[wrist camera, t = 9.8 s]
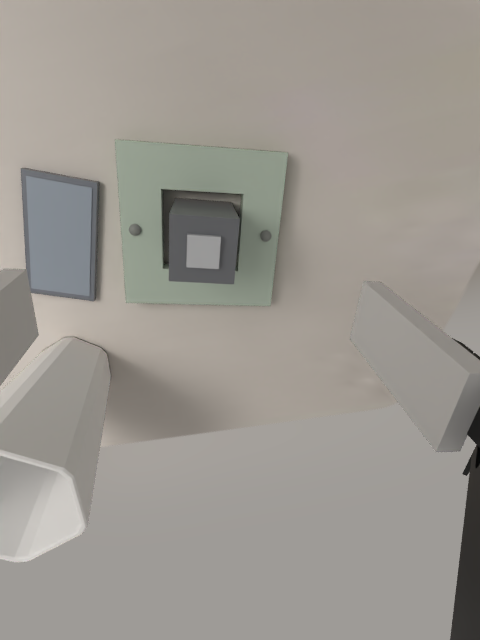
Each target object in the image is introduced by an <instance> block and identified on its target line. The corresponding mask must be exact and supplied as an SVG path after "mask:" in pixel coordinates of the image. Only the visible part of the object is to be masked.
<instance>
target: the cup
mask: <svg viewBox="0 0 480 640" xmlns="http://www.w3.org/2000/svg"><path fill="white" fill-rule="evenodd" d="M110 380H111V373H110V368H109V363H108V357H107V354H106V353H105V352H104V350H103V349H102V348H100V347H98V346H95V345H93V344H90V343H88V342H85V341H83V340H80V339H77V338H75V337H67V338H63V339H62V340H60V341H58V342H57V343H55V344H53V345H52V346H50V347H48V348H47V349H45V350H43V351H42V352H41V353H40V354H39V355H38V356H37V357H36V358H35V359H34V360H33V361H32V362H31V363H30V364H28V365H27V366H26V367H25V368H24V369H23V370H22V371H21V372H20V373H19V374H18V375H17V376H16V377H15V378H14V379H13V380H12V381H11V382H10V383H9V384H7V385H6V386H5V387H4V388H3V389H2V390H1V391H0V559H3V560H7V561H12V562H23V561H30V560H32V559H34V558H36V557H38V556H40V555H41V554H43V553H45V552H47V551H49V550H51V549H53V548H55V547H57V546H59V545H61V544H63V543H65V542H67V541H69V540H71V539H73V538H75V537H77V536H79V535H80V534H83V533H84V531H85V529H86V527H87V525H88V521H89V515H90V508H91V502H92V495H93V489H94V483H95V476H96V470H97V463H98V457H99V451H100V444H101V438H102V431H103V425H104V419H105V412H106V406H107V399H108V393H109V387H110Z"/></svg>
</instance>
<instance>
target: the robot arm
mask: <svg viewBox="0 0 480 640" xmlns="http://www.w3.org/2000/svg"><path fill="white" fill-rule="evenodd" d="M38 335H39V334H38V329H37V323H36V318H35V313H34V307H33V302H32V297H31V291H30V286H29V280H28V275H27V270H26V269H3V270H1V271H0V385H1V384H2V383H3V381H4V380H5V379H6V378H7V376H8V375H9V374H10V372H11V371H12V370H13V368H14V367H15V366H16V364H17V363H18V362H19V360H20V359H21V358H22V356H23V355H24V354H25V352H26V351H27V350H28V348H29V347H30V346H31V344H32V343H33V342H34V341H35V339H36V338H37V337H38ZM350 340H351V341H352V343H353V344H354V345H355V347H356V348H357V349H358V350H359V352H360V353H361V354H362V356H363V357H364V358H365V360H366V361H367V362H368V364H369V365H370V366H371V368H372V369H373V370H374V371H375V373H376V374H377V375H378V377H379V378H380V379H381V381H382V382H383V383H384V385H385V386H386V387H387V388H388V390H389V391H390V392H391V394H392V395H393V396H394V398H395V399H396V400H397V402H398V403H399V404H400V405H401V407H402V408H403V409H404V411H405V412H406V413H407V415H408V416H409V417H410V419H411V420H412V421H413V422H414V424H415V425H416V426H417V428H418V429H419V430H420V432H421V433H422V434H423V436H424V437H425V438H426V440H427V441H428V442H429V444H430V445H431V446H432V447H433V449H434V450H435V451H436V452H453V451H460V450H461V448H462V446H463V444H464V441H465V439H466V437H467V435H468V436H469V437H470V438H471V439H472V440H473V441H474V442H475V443H476V444H477V445H476V447H475V449H474V451H473V453H472V455H471V457H470V459H469V462H468V464H467V466H466V468H465V470H464V472H463V474H464V475H466V476H467V475H468V473H469V472H470V474H469V483H468V491H467V500H466V509H465V517H464V527H463V534H462V543H461V552H460V561H459V569H458V577H457V586H456V595H455V603H454V612H453V620H452V629H451V638H450V640H480V357H479V356H478V355H477V354H475V353H473V351H472V350H470V349H469V348H468V347H466V346H465V345H464V344H463V343H461V342H459V341H457V340H455V339H453V338H451V337H450V336H449V335H447V334H446V333H445V332H443V331H442V330H441V329H440V328H438V327H437V326H436V325H435V324H433V323H432V322H431V321H430V320H428V319H427V318H426V317H425V316H423V315H422V314H421V313H419V312H418V311H417V310H416V309H414V308H413V307H412V306H411V305H409V304H408V303H407V302H406V301H404V300H403V299H402V298H401V297H399V296H398V295H397V294H395V293H394V292H393V291H392V290H390V289H389V288H388V287H387V286H385V285H384V284H383V283H382V282H371V281H363V286H362V290H361V294H360V298H359V302H358V306H357V310H356V314H355V319H354V323H353V327H352V331H351V335H350Z"/></svg>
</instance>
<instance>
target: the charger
mask: <svg viewBox="0 0 480 640" xmlns="http://www.w3.org/2000/svg"><path fill="white" fill-rule="evenodd" d="M239 224H240V218H239V216H238V215H237V213H236V211H235V209H234V207H233V205H232V203H231V202H222V201H209V200H197V199H184V198H175V200H174V203H173V205H172V208H171V211H170V213H169V281H175V282H195V283H215V284H234V280H235V269H236V257H237V246H238V235H239Z"/></svg>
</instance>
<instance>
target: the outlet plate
mask: <svg viewBox="0 0 480 640" xmlns="http://www.w3.org/2000/svg"><path fill="white" fill-rule="evenodd" d="M115 150H116V164H117V179H118V193H119V208H120V222H121V237H122V252H123V266H124V281H125V295H126V303H153V304H197V305H240V306H271V297H272V288H273V280H274V271H275V262H276V254H277V245H278V236H279V228H280V219H281V211H282V202H283V193H284V185H285V176H286V167H287V159H288V153H287V152H275V151H262V150H249V149H236V148H223V147H210V146H197V145H184V144H171V143H158V142H145V141H131V140H115ZM163 189H169V190H185V191H201V192H218V193H234V194H241V207H240V224H239V236H238V251H237V265H236V269H235V280H234V284H215V283H195V282H175V281H169V264H164V232H163Z"/></svg>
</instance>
